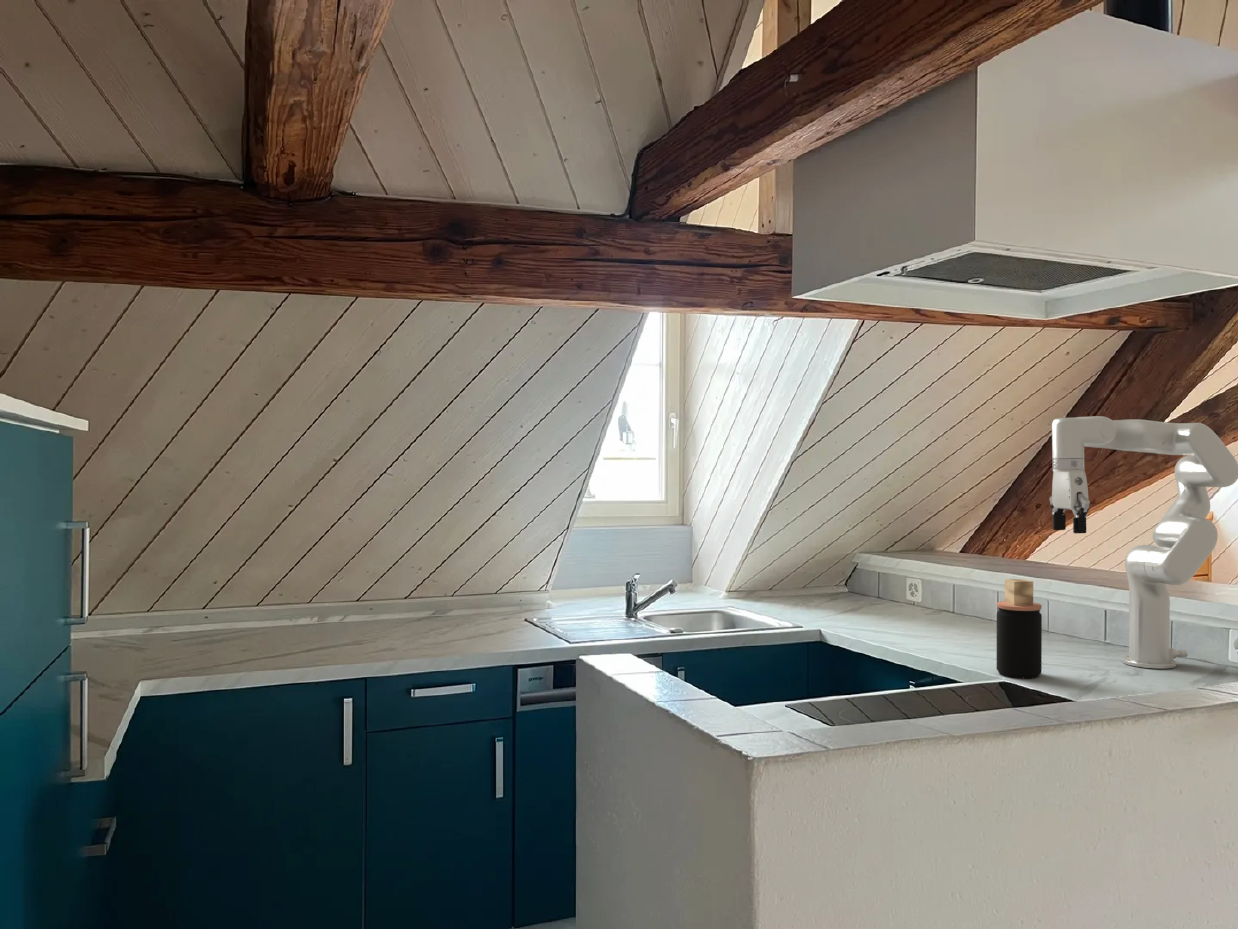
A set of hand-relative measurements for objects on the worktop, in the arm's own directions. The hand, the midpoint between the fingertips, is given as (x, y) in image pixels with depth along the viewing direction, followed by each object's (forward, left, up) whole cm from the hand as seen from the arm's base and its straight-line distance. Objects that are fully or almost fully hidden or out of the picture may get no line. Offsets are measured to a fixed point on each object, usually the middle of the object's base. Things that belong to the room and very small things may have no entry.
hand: (1069, 531), depth 258 cm
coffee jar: (+15, +4, -36) cm, 39 cm away
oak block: (+15, +4, -18) cm, 24 cm away
